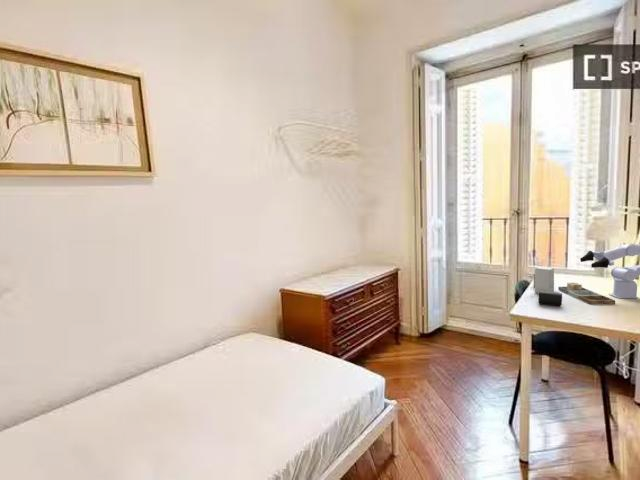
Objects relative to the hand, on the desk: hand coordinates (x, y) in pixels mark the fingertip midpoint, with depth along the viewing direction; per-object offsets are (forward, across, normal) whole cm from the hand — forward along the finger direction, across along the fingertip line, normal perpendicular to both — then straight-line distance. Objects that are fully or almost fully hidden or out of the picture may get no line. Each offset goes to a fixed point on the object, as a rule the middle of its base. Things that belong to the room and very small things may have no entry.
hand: (586, 262), depth 197 cm
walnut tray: (+5, +12, +16) cm, 21 cm away
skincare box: (+20, -7, +17) cm, 27 cm away
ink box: (+14, -16, +21) cm, 30 cm away
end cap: (+30, +13, +9) cm, 34 cm away
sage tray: (+4, +3, +19) cm, 19 cm away
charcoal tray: (+3, -7, +22) cm, 23 cm away
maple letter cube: (+3, -6, +22) cm, 23 cm away
